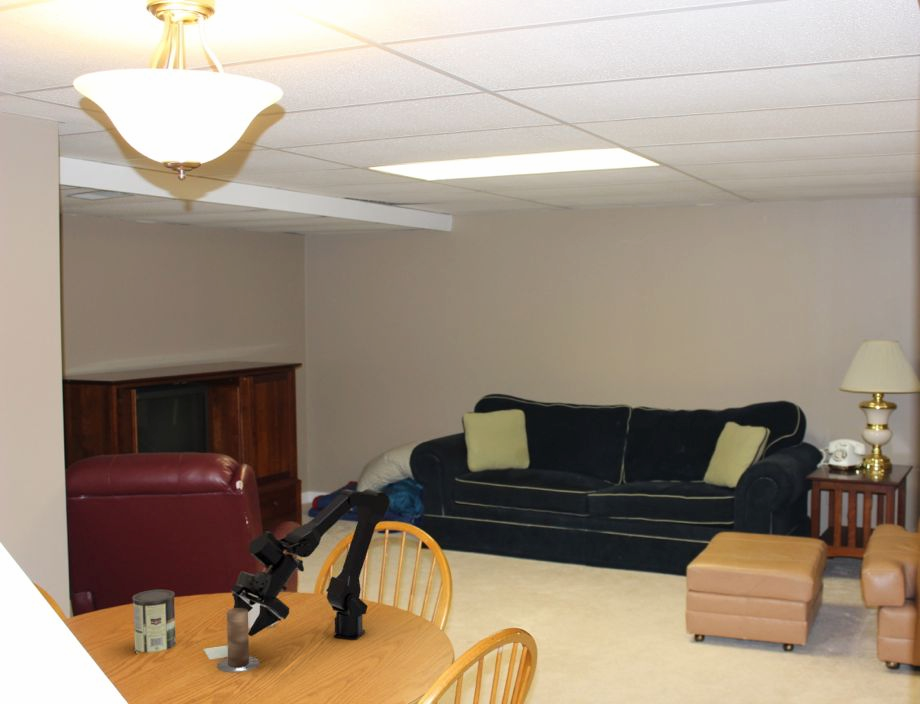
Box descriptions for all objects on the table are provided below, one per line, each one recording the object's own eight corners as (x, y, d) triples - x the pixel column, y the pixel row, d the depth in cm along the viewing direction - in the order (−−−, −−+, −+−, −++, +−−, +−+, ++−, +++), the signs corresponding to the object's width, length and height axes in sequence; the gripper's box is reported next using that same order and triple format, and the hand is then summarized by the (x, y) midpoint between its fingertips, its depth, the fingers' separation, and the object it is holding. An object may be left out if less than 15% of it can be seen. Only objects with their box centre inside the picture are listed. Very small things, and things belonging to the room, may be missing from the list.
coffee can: (162, 639, 266) (161, 586, 265) (183, 648, 259) (182, 594, 258) (126, 649, 259) (124, 595, 258) (147, 659, 252) (145, 604, 251)
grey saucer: (266, 663, 249) (266, 658, 249) (246, 678, 239) (246, 673, 239) (230, 659, 252) (230, 654, 251) (209, 673, 242) (209, 669, 242)
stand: (235, 647, 259) (235, 644, 259) (242, 658, 252) (242, 654, 252) (203, 652, 256) (203, 649, 256) (209, 663, 249) (209, 659, 249)
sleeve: (250, 659, 248) (249, 607, 247) (246, 667, 243) (245, 614, 242) (230, 659, 248) (229, 607, 247) (226, 667, 243) (224, 614, 242)
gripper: (236, 551, 254) (198, 604, 248) (277, 566, 241) (238, 622, 234) (264, 575, 260) (227, 628, 254) (305, 591, 247) (268, 647, 240)
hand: (239, 630), depth 245 cm, fingers open, 9 cm apart
